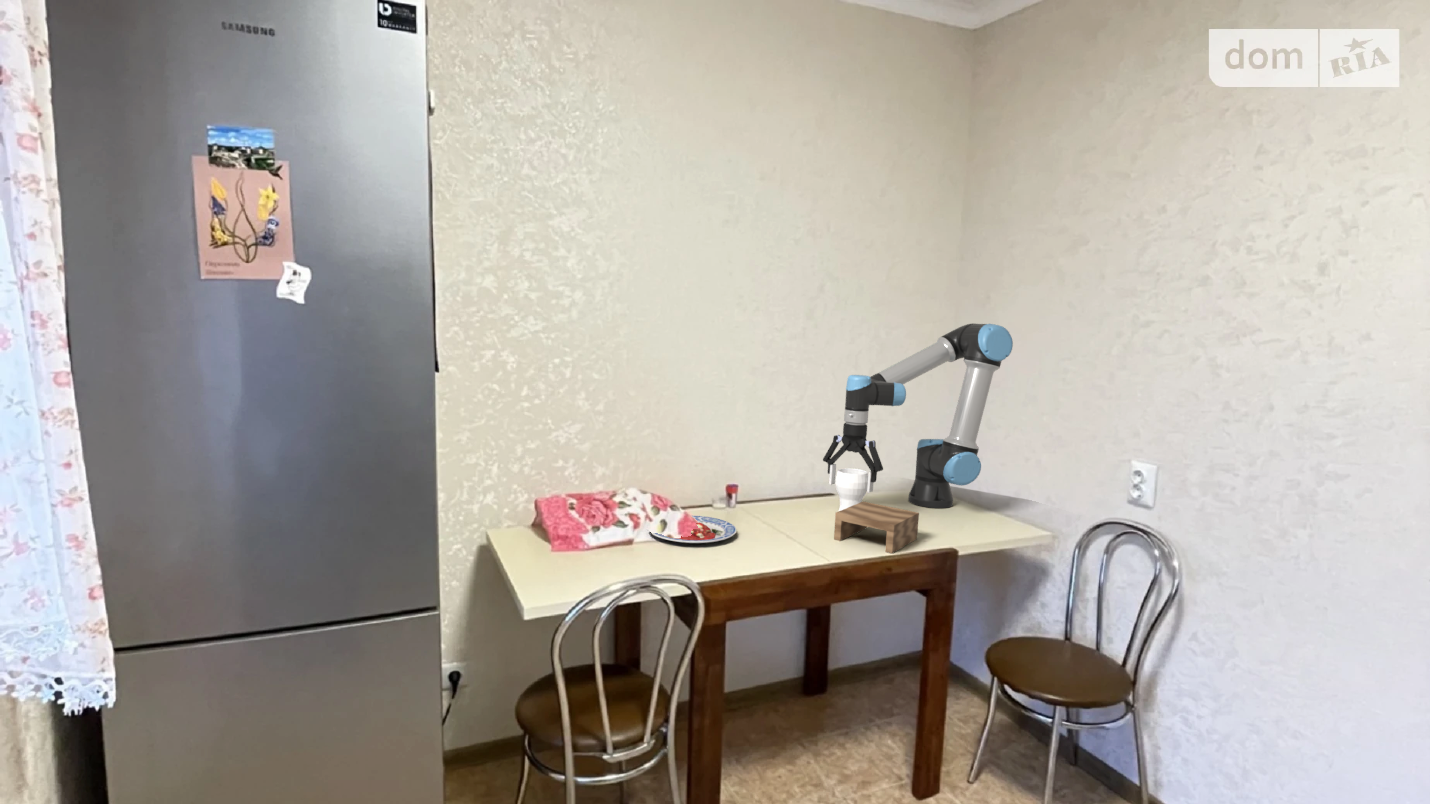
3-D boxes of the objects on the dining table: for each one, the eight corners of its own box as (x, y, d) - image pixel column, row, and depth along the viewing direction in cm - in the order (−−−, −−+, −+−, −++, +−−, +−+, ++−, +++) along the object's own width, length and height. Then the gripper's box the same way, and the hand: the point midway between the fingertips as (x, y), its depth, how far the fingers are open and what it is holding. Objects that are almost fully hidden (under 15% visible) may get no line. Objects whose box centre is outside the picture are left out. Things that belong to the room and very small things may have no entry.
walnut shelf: (861, 526, 226) (863, 501, 225) (917, 539, 215) (919, 512, 214) (833, 539, 211) (835, 512, 210) (892, 553, 201) (894, 525, 200)
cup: (864, 513, 242) (867, 468, 240) (868, 521, 231) (871, 475, 229) (832, 511, 243) (834, 466, 241) (834, 519, 232) (837, 473, 230)
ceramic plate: (634, 543, 202) (635, 532, 201) (663, 518, 227) (663, 509, 226) (725, 553, 196) (725, 543, 196) (744, 527, 221) (744, 517, 220)
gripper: (815, 419, 238) (811, 482, 240) (887, 429, 223) (881, 497, 225) (826, 417, 244) (822, 479, 246) (897, 427, 229) (891, 493, 231)
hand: (850, 487), depth 236 cm, fingers open, 13 cm apart
